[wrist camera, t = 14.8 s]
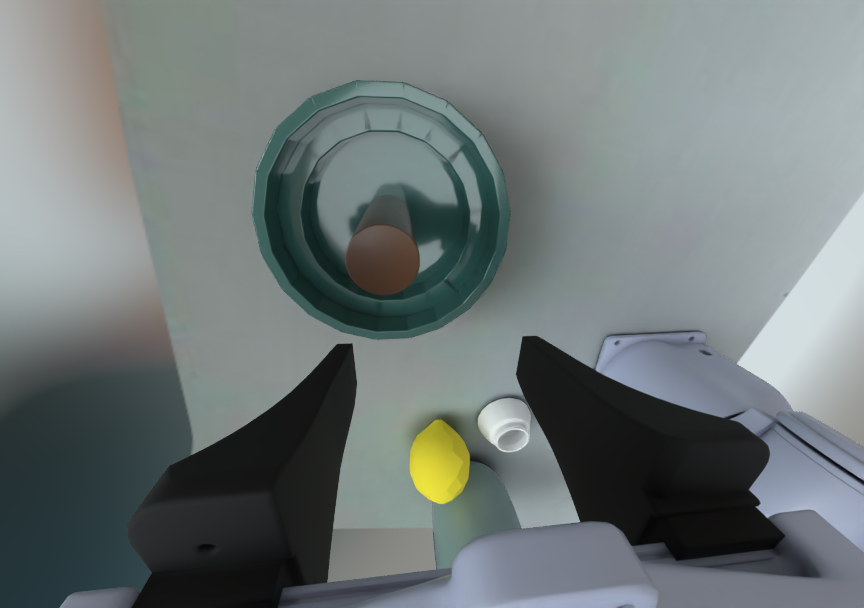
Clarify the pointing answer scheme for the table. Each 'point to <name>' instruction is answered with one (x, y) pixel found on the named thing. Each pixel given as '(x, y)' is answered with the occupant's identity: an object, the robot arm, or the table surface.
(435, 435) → the lemon
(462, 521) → the cup
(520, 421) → the lidless jar
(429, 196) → the bowl
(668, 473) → the robot arm
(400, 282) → the brown cylinder
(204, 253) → the table surface
